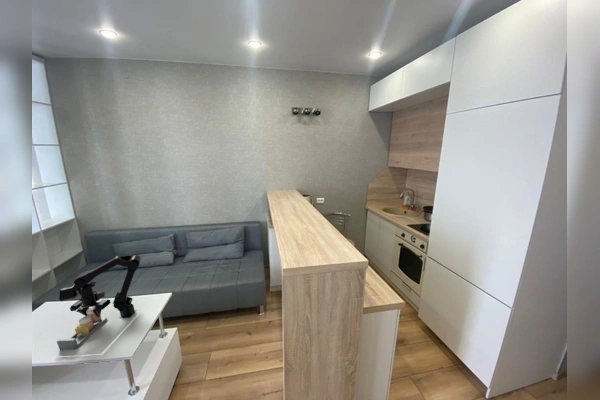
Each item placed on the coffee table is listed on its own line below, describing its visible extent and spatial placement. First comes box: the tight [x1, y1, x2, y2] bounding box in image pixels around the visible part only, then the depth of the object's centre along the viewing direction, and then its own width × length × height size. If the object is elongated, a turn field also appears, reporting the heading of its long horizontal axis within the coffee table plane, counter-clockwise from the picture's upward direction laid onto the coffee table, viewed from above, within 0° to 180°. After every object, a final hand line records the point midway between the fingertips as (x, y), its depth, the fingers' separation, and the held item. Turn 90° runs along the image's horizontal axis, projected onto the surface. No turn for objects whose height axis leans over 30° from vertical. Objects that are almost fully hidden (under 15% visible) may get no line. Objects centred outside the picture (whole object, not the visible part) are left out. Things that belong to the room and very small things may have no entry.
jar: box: [86, 306, 102, 324], centre depth 131 cm, size 5×5×8 cm
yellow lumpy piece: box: [74, 324, 89, 338], centre depth 123 cm, size 4×6×6 cm, turn 92°
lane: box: [56, 317, 108, 351], centre depth 125 cm, size 20×8×6 cm, turn 2°
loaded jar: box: [78, 315, 95, 332], centre depth 127 cm, size 5×5×8 cm
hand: (94, 317), depth 131 cm, fingers closed on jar, 5 cm apart
